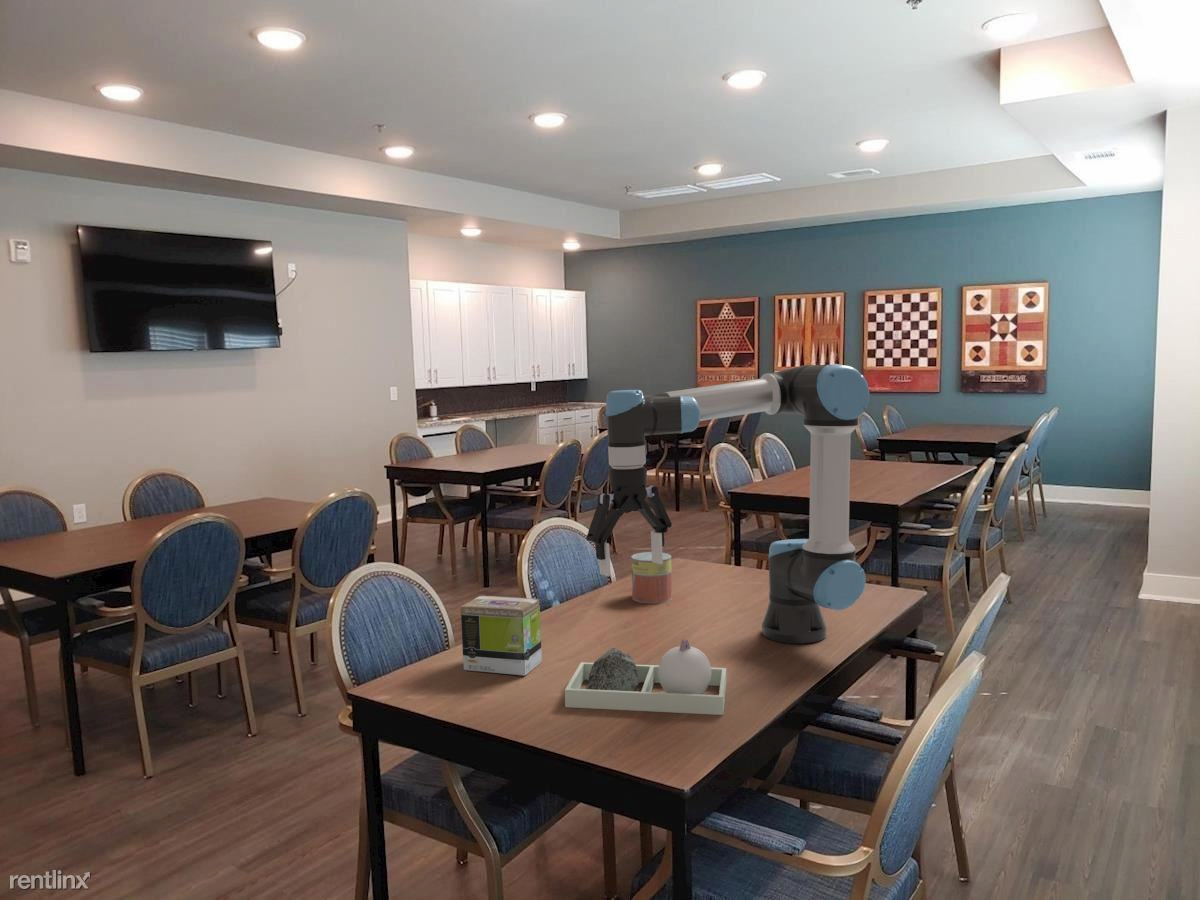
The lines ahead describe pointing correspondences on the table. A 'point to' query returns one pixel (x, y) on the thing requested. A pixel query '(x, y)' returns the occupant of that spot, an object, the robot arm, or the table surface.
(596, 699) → the holder
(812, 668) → the table surface
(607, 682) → the stone
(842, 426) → the robot arm
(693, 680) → the ornament
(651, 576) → the canned food
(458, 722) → the table surface
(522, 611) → the tea box
